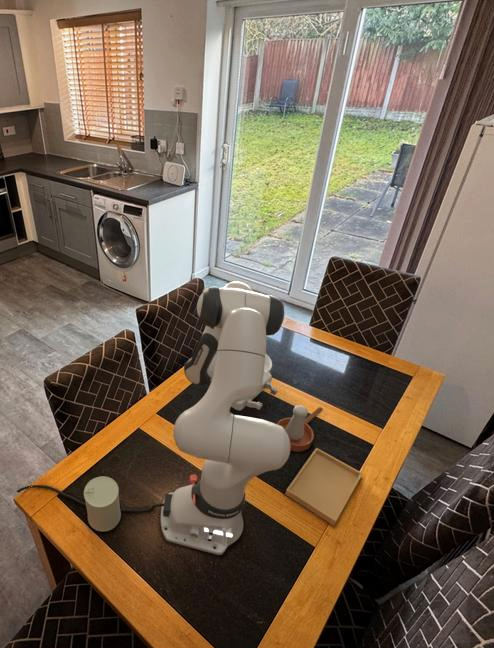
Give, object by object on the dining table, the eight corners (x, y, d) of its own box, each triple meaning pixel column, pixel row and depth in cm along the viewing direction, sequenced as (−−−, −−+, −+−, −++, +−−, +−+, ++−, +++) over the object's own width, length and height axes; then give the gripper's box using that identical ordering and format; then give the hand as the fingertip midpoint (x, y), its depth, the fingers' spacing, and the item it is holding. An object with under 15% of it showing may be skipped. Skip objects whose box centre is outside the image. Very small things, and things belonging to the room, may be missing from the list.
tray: (333, 526, 109) (336, 521, 107) (284, 494, 117) (286, 489, 115) (360, 478, 121) (362, 473, 119) (314, 452, 129) (316, 447, 127)
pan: (277, 450, 129) (279, 444, 128) (271, 422, 139) (273, 416, 137) (315, 452, 128) (317, 446, 127) (306, 424, 138) (308, 418, 136)
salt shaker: (302, 445, 131) (312, 417, 123) (284, 442, 132) (292, 414, 124) (300, 431, 135) (309, 403, 128) (283, 428, 136) (290, 401, 129)
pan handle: (305, 426, 135) (305, 424, 134) (301, 423, 136) (302, 422, 135) (322, 410, 141) (323, 408, 140) (318, 408, 142) (319, 406, 141)
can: (90, 500, 116) (86, 474, 109) (122, 500, 116) (120, 475, 109) (85, 531, 108) (80, 506, 101) (119, 532, 108) (117, 506, 101)
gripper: (217, 388, 135) (252, 409, 127) (251, 360, 146) (286, 378, 138) (215, 401, 138) (250, 423, 130) (249, 373, 150) (283, 391, 142)
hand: (269, 399), depth 134 cm, fingers open, 8 cm apart
